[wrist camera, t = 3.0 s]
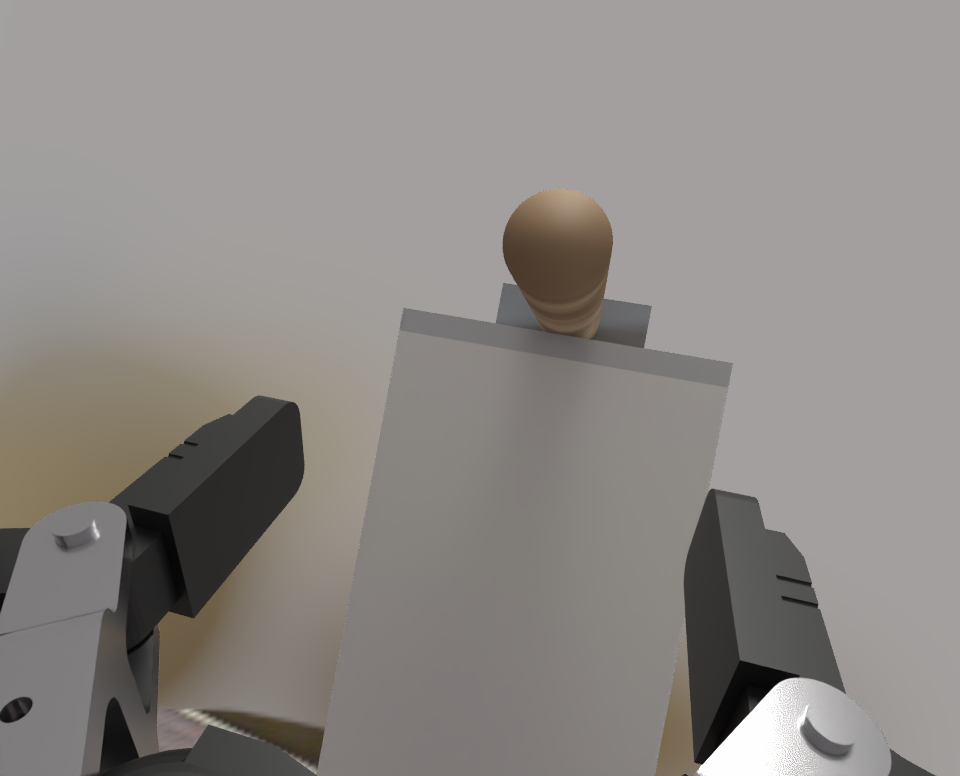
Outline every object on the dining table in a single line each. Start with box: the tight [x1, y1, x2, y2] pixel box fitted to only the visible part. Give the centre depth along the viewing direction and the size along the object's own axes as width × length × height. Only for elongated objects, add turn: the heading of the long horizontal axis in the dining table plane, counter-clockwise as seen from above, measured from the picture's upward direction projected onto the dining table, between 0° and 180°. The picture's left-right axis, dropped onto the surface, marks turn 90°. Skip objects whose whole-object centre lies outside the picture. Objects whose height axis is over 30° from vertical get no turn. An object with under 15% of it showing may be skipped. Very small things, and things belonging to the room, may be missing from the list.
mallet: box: [496, 189, 652, 348], centre depth 27 cm, size 21×8×3 cm, turn 170°
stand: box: [317, 308, 733, 776], centre depth 31 cm, size 14×12×32 cm
